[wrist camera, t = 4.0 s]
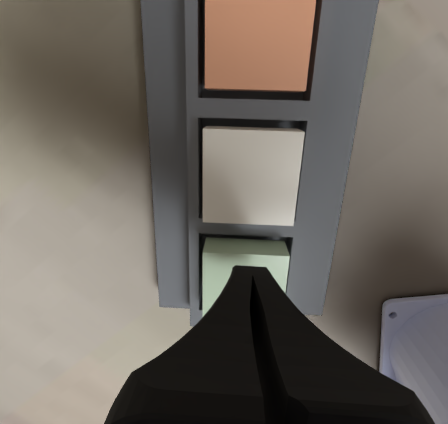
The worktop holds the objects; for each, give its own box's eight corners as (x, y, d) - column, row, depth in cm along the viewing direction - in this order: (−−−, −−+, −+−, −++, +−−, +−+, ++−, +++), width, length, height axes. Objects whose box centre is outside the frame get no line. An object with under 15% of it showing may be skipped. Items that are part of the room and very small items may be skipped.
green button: (277, 305, 16) (281, 325, 15) (205, 301, 16) (202, 321, 15) (284, 240, 15) (289, 256, 13) (206, 237, 15) (202, 252, 13)
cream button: (287, 213, 14) (293, 226, 13) (206, 209, 14) (202, 222, 13) (297, 128, 13) (304, 132, 11) (206, 125, 13) (202, 128, 11)
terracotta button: (297, 92, 13) (305, 91, 11) (208, 90, 13) (204, 88, 12) (309, -17, 12) (320, -34, 10) (209, -18, 12) (205, -36, 10)
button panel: (315, 299, 19) (329, 333, 16) (165, 292, 19) (153, 324, 17) (372, -39, 13) (410, -80, 10) (147, -42, 13) (123, -82, 10)
